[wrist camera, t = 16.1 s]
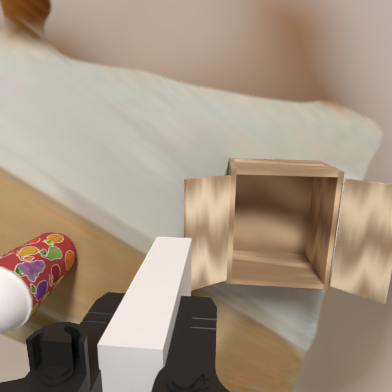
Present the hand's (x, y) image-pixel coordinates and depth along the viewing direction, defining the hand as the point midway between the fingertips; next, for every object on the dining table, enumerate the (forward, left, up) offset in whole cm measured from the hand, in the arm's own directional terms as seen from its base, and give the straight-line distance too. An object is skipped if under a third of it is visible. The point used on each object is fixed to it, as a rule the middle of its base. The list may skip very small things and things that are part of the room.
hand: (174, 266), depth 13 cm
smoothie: (-14, +23, -31) cm, 41 cm away
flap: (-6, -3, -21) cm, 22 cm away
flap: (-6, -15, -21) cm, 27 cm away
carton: (-6, -9, -30) cm, 32 cm away
